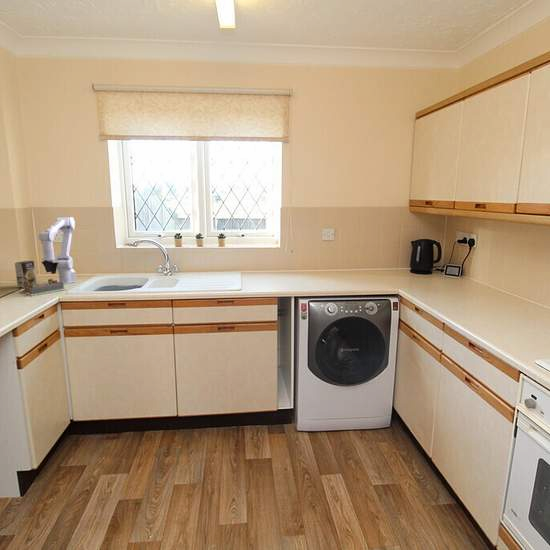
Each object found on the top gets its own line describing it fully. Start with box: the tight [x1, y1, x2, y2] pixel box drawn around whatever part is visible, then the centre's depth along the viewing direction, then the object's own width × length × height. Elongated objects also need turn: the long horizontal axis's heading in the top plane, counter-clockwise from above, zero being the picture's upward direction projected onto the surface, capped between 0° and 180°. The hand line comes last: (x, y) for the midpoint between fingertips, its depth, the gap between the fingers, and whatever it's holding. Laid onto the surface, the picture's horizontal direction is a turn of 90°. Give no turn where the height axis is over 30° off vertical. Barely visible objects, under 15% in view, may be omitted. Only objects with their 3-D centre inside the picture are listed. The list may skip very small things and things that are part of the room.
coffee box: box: [14, 260, 38, 289], centre depth 255 cm, size 9×6×16 cm
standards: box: [22, 278, 58, 294], centre depth 247 cm, size 18×8×5 cm, turn 140°
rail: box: [29, 281, 65, 294], centre depth 241 cm, size 18×4×4 cm, turn 140°
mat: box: [26, 287, 67, 297], centre depth 241 cm, size 20×8×1 cm, turn 140°
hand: (51, 272), depth 248 cm, fingers open, 7 cm apart
